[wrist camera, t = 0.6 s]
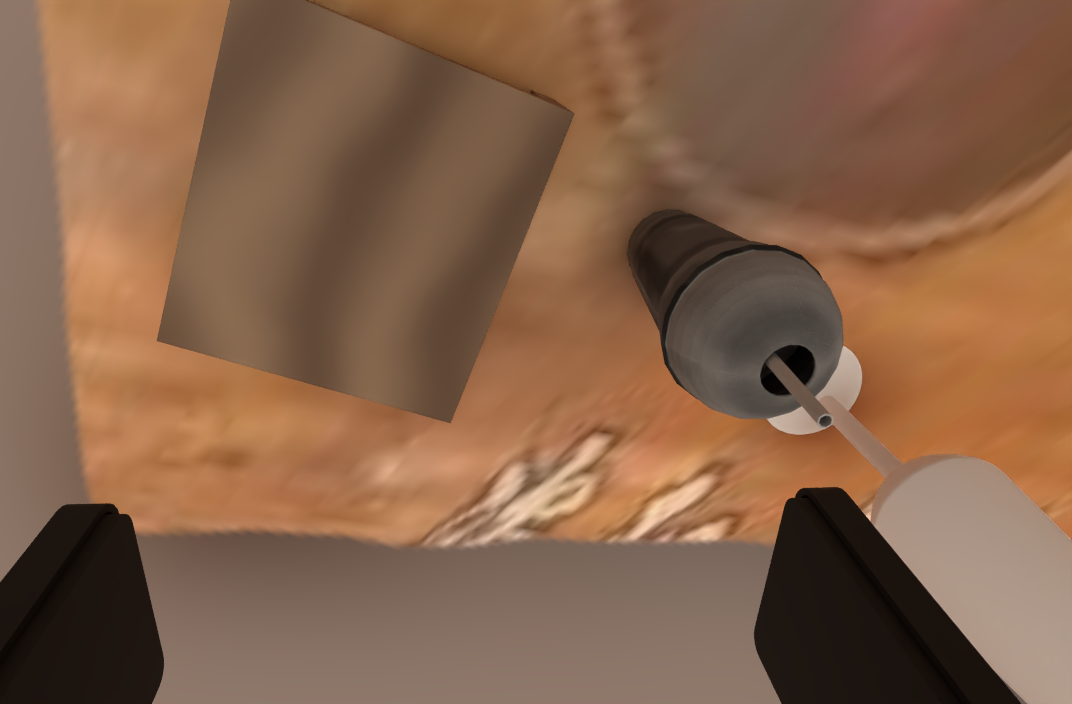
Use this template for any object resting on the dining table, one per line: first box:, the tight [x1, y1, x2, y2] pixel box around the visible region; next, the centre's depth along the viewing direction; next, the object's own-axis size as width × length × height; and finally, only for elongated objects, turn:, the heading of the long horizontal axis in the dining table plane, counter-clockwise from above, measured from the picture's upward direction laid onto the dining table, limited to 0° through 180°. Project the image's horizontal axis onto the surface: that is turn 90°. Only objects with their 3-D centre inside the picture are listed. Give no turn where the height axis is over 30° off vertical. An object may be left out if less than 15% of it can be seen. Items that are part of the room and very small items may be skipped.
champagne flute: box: [767, 346, 1072, 704], centre depth 34 cm, size 7×7×24 cm
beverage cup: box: [627, 210, 843, 428], centre depth 31 cm, size 7×7×20 cm
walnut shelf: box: [157, 0, 574, 423], centre depth 34 cm, size 14×16×6 cm
